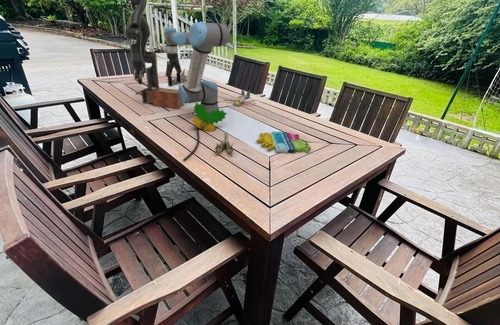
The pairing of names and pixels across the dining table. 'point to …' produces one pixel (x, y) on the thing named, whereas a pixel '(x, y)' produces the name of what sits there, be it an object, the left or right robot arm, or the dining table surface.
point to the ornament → (207, 117)
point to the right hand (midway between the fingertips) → (174, 84)
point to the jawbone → (224, 145)
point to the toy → (241, 99)
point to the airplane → (180, 77)
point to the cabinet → (166, 98)
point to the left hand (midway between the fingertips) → (140, 84)
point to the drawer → (146, 95)
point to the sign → (283, 142)
